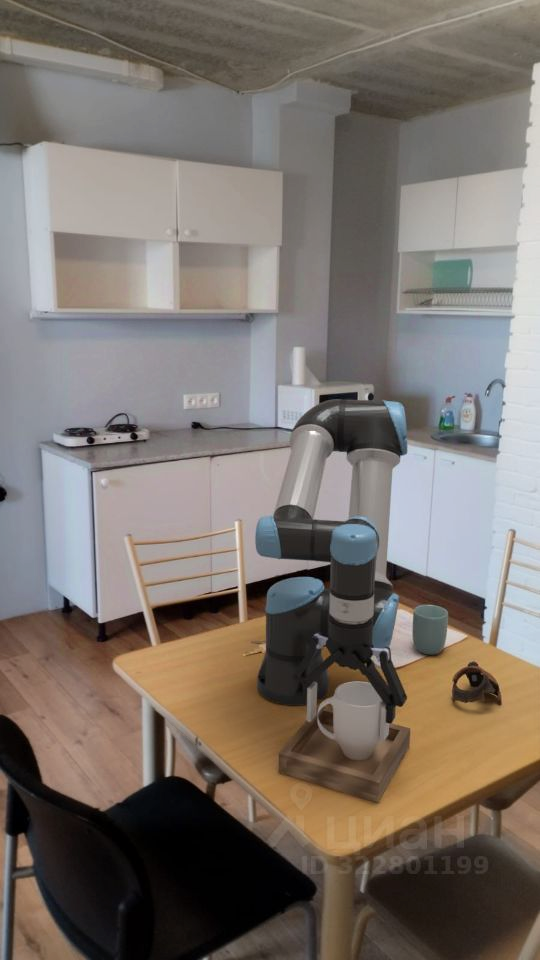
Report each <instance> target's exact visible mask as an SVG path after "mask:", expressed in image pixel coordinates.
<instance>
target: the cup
mask: <svg viewBox="0 0 540 960" xmlns="http://www.w3.org/2000/svg"><path fill="white" fill-rule="evenodd" d="M412 615H413V616H412V630H411V631H412V643H413V646H414V649H415V650H417V652H419V653H420V654H422V655H423V654H424V655H427V656H433V655H437V654H439V653H441V652H442V650H443V649H444V647H445V645H446V640H447V636H448V625H449V623H448V622H449V611H448V610H447V609H445V608H444V607H441V606H440V605H439V606H438V605H434V604H420V605H417V606H416V607H414V608H413V613H412Z"/></svg>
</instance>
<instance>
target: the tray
mask: <svg viewBox="0 0 540 960" xmlns="http://www.w3.org/2000/svg"><path fill="white" fill-rule="evenodd" d="M319 706H320V704H318V705H317V712H316V716H315V717H314V719H313V720H312V721H311V722H308V721H307V719H305V721H304V722H303V723H302V725H300V727H299V728H298V729H297V731H296V732H295V733H294V734H293V735H292V737H291V738H290V739H289V740H288V742H286V744H285V745H284V746H283V747H282V748H281V750H280V751H279V752H278V764H277V765H278V767H277V768H278V771H277V772H278V773H279V772H282V773H284V774H283V775H285V774H286V775H287V776H288V775H290V776H289V777H292V778H294V779H295V778H296V779H299V780H303V781H306V782H307V783H312V784H315V785H318V786H321V787H325V788H329V789H331V790H335V791H337V792H340V793H345V794H348V795H351V796H354V797H358V798H361V799H365V800H368V801H371V802H373V803H378V804H379V802H380V801H381V798H382V797H383V795H384V794H385V792H386V790H387V788H388V786H389V784H390V782H391V781H392V778H393V777H394V775H395V774H396V771H397V770H398V768H399V767H400V764H401V762H402V760H403V758H404V757H405V755H406V753H407V751H408V750H409V748H410V746H411V745H410V742H411V727H407V726H403V725H399V724H396V723H395V724H394V723H392V724H390V723H389V734H388V736H387V738H386V739H385V741H384V742H382V741H380V739H379V741H378V743H377V745H376V747H375V749H374V751H373V753H372V755H371V756H370V758H368V759H366V760H362V761H357V760H352V759H349V758H347V757H346V756H345V755H344V753H343V751H342V749H341V747H340V745H339V743H338V742H337V741H335V740H333V739H330V738H328V737H327V736H326V735H324V734H323V733H322V731H321V730H320V728H319V726H318V722H317V716H318V719H319V721H320V723H321V725H322V726H323V727H324V728H325V729H326V730H327V731H329V732H330V733H332V734H333V733H334V728H333V707H329V706H327V705H326V706H324V707H323V708H321V710H320V711H319V713H318V708H319ZM282 773H281V774H282Z"/></svg>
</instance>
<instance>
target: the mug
mask: <svg viewBox="0 0 540 960" xmlns="http://www.w3.org/2000/svg"><path fill="white" fill-rule="evenodd" d="M383 703H384V702H383V700H382V699H381V698H380V696H379V695H378V693H377V692H376V690H375V689H374V688H373V686H372V685H371V683H370V682H369V681H368V682H366V681H360V680H359V681H349V682H343V683H341V684H339V685H338V686H337V687H336V688H335V690H334V694H333V696H330V697H327V698H326V699H324V700H322V701H321V703H320V704H319V705H320V706H319V708H318V713H319V711H320V710H321V708H323V707H324V706H326V707H327V705H331V706H332V708H333V728H334V733H333V734H332V733H330V732H329V731H327V730H326V729H325V728H324V727H323V726H322V725H321V723H320V721H319V719H318V716H317V722H318V726H319V728H320V730H321V731H322V733H323V734H324V735H326V736H327V737H328V738H330V739H333V740H335V741H337V742H338V743H339V745H340V747H341V749H342V751H343V753H344V755H345V756H346V757H347V758H349V759H352V760H357V761H362V760H366V759H368V758H370V756H371V755H372V753H373V751H374V749H375V747H376V745H377V743H378V741H379V739H380V722H381V706H382V705H383Z"/></svg>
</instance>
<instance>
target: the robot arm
mask: <svg viewBox="0 0 540 960" xmlns="http://www.w3.org/2000/svg"><path fill="white" fill-rule="evenodd" d="M407 433H408V432H407V420H406V411H405V407H404V405H403V404H402V403H401V402H398V401H392V400H391V401H388V400H385V399H381V400H366V399H365V400H363V399H361V400H360V399H339V398H335V399H329V400H325V401H322V402H320V403H318V404H316V405H315V406H313V407H312V408H310V409H308V410H307V411H306V412H305V413H304V414H303V415H302V416H300V418H299V419H298V421H296V423H295V424H294V426H293V428H292V431H291V433H290V437H289V442H288V443H289V447H290V454H289V457H288V462H287V465H286V468H285V471H284V475H283V478H282V483H281V486H280V488H279V489H280V491H279V493H278V497H277V501H276V504H275V507H274V512H273V514H272V515H269V516H267V515H266V516H265V515H264V516H261V517H260V518H259V519H258V521H257V522H256V523H257V524H256V528H255V536H254V537H255V541H254V544H255V550H256V552H257V554H258V555H259V556H261V557H265V558H271V559H278V560H290V561H292V560H294V561H309V562H310V561H311V562H322V563H330V576H329V577H330V579H329V584H330V586H329V588H325V585H324V583H323V581H322V580H321V579H320V578H319V579H318V578H315V577H311V576H297V577H290V578H286V579H282V580H280V581H278V582H276V583H274V584H273V585H271V586H270V588H269V589H268V590H267V593H266V604H265V608H264V611H265V653H264V657H263V659H262V663H261V665H260V668H259V670H258V673H257V679H256V680H257V681H256V687H257V688H256V689H257V691H258V693H259V694H260V695H261V697H263V698H265V699H266V700H268V701H270V702H273V703H276V704H279V705H280V704H281V705H286V706H287V705H288V706H305V705H306V720H307V721H308V722H311V721H312V720H313V719H314V717H315V716H316V712H317V707H318V705H317V704H318V703H317V702H318V701H320V700H322V699H324V698H325V697H326V696H327V695H328V693H329V690H330V677H329V673H328V669H329V668H330V667H331V666H332V665H333V664H334V663H336V665H338V667H340V668H347V669H350V670H354V671H357V670H359V672H360V673H361V674H362V676H364V677H365V678H366V679H367V680H368V683H371V685H372V686H373V688H374V689H375V690H376V692H377V693H378V695H379V696H380V698H381V699H382V700H383V702H384V703H383V705H382V706H381V722H380V741H382V742H384V741H385V739H386V738H387V736H388V734H389V723H390V724H393V722H394V720H395V719H396V707H399V708H402V707H403V706H404V705H405V703H406V701H407V699H408V695H407V693H406V691H405V689H404V686H403V683H402V681H401V679H400V677H399V674H398V672H397V669H396V668H395V665H394V662H393V660H392V654H391V653H392V650H391V648H390V646H391V644H392V639H393V634H394V630H395V625H396V620H397V614H398V607H399V604H400V603H399V601H400V596H399V594H396V593H394V592H393V588H394V586H393V584H392V582H391V581H390V580H389V579H388V578H387V564H388V550H389V549H388V548H389V535H390V534H389V530H390V515H391V502H392V501H391V500H392V499H391V498H392V485H393V484H392V483H393V469H395V468H396V467H397V466H399V464H400V463H401V456H405V455H407V454H408V437H407V436H408V435H407ZM333 452H338V453H346V461H347V462H348V463H349V464H350V465H351V466H352V468H351V469H352V470H351V471H352V472H351V480H350V481H351V482H350V494H349V496H350V497H349V507H348V510H349V511H348V519H346V520H327V519H314V518H315V513H316V509H317V505H318V504H317V503H318V499H319V494H320V490H321V485H322V480H323V476H324V471H325V466H326V461H327V459H328V458H329V457H330V456H331V454H332V453H333ZM323 647H326V649H327V651H328V652H329V654H330V655H329V656H328V657H326V659H324V657H323V654H322V653H323V652H322V650H323ZM372 657H375V659H376V663H379V667H380V669H381V671H382V674H383V675H382V674H381V673H380V672H379V670H378V669H377V666H376V664H375V662H374V660H373V659H372ZM384 678H385V679H384Z"/></svg>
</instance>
